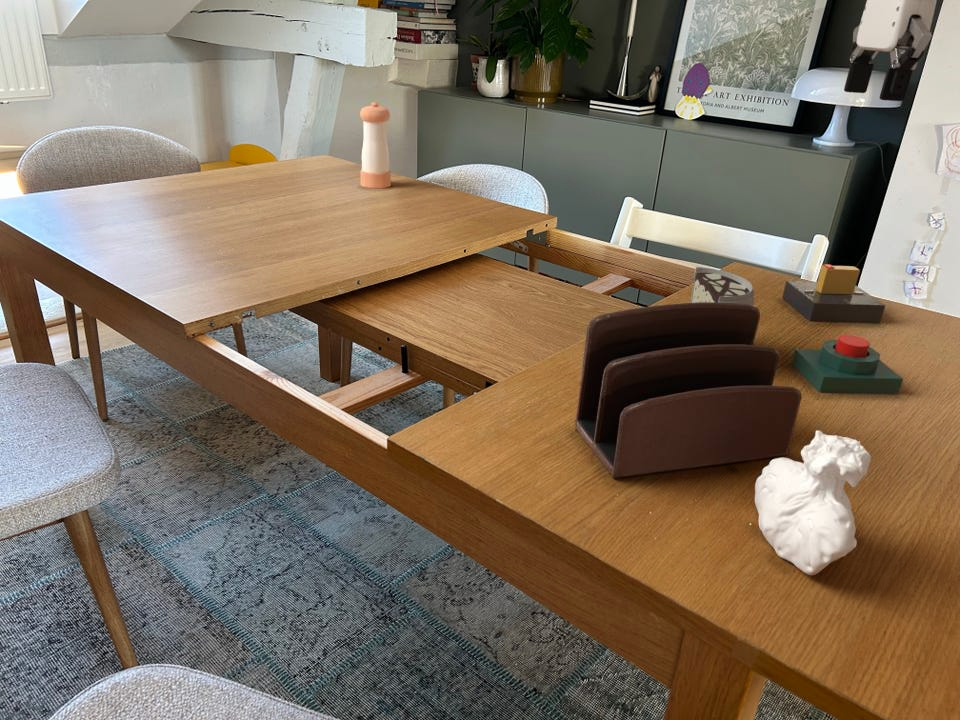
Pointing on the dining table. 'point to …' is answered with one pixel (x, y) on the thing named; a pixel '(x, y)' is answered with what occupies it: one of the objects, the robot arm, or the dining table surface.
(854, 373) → the button box
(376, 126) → the salt shaker
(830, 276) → the knob
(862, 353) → the button
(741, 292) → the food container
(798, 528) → the white tied bag
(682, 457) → the letter holder
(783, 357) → the dining table surface
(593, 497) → the dining table surface
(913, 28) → the robot arm
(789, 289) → the panel
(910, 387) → the dining table surface
